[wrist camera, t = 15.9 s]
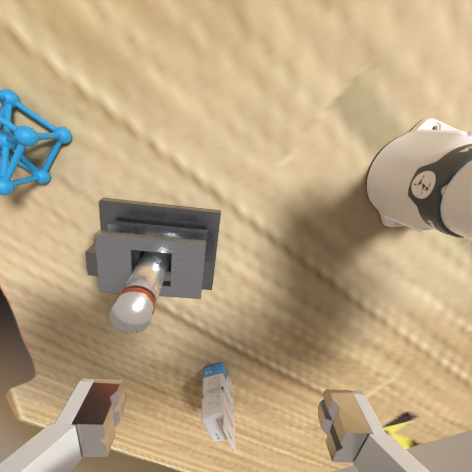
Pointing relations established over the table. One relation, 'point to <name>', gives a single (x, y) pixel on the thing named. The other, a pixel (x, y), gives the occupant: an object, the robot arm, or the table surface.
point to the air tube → (140, 293)
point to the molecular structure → (24, 144)
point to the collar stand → (155, 245)
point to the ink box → (218, 404)
